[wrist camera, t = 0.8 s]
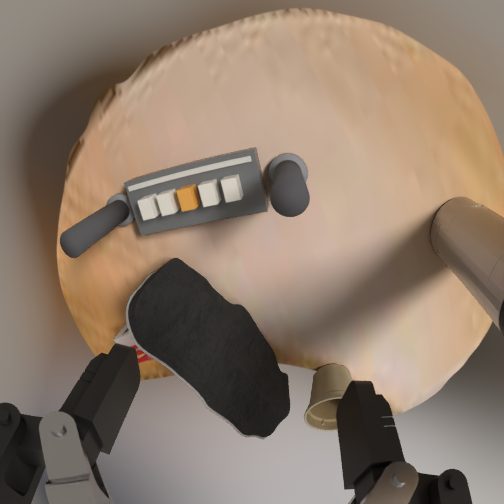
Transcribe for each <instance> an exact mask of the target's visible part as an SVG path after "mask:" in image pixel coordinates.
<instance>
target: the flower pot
mask: <svg viewBox="0 0 504 504" xmlns="http://www.w3.org/2000/svg"><path fill="white" fill-rule="evenodd" d="M351 381H353V380H352V378H351V375H350V372H349V370H348V368H346V367H345V366H341V365H338V364H329V365H325V366H323V367H321V368H319V369H318V370H317V372H316V373H315V374H314V376H313V384H312V391H311V399H310V404H309V405H308V409H307V410H306V412H305V415H304V420H305V422H306V424H307V425H309V426H310V427H311V428H314V429H316V430H320V431H338V429H337V421H336V412H337V407H338V404H339V402H340V400H341V399H342V397H343V395H344V393H345V391H346V389H347V387H348V385H349V383H350V382H351Z"/></svg>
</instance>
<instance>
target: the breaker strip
mask: <svg viewBox="0 0 504 504" xmlns="http://www.w3.org/2000/svg"><path fill="white" fill-rule="evenodd" d="M124 184H125V188H126V191H127V194H128V197H129V201H130V204H131V207H132V210H133V213H134V216H135V219H136V222H137V225H138V228H139V231H140V234H141V236H142V235H147V234H151V233H156V232H161V231H166V230H171V229H176V228H181V227H186V226H191V225H196V224H201V223H206V222H211V221H217V220H222V219H227V218H233V217H238V216H244V215H249V214H255V213H261V212H266V211H268V200H267V195H266V191H265V186H264V181H263V177H262V172H261V167H260V163H259V158H258V154H257V149H256V147H255V148H250V149H245V150H240V151H236V152H231V153H227V154H222V155H218V156H214V157H210V158H205V159H201V160H197V161H193V162H189V163H186V164H182V165H178V166H174V167H171V168H167V169H164V170H160V171H157V172H153V173H150V174H146V175H143V176H140V177H136V178H133V179H131V180H129V181H127V182H125V183H124Z"/></svg>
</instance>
